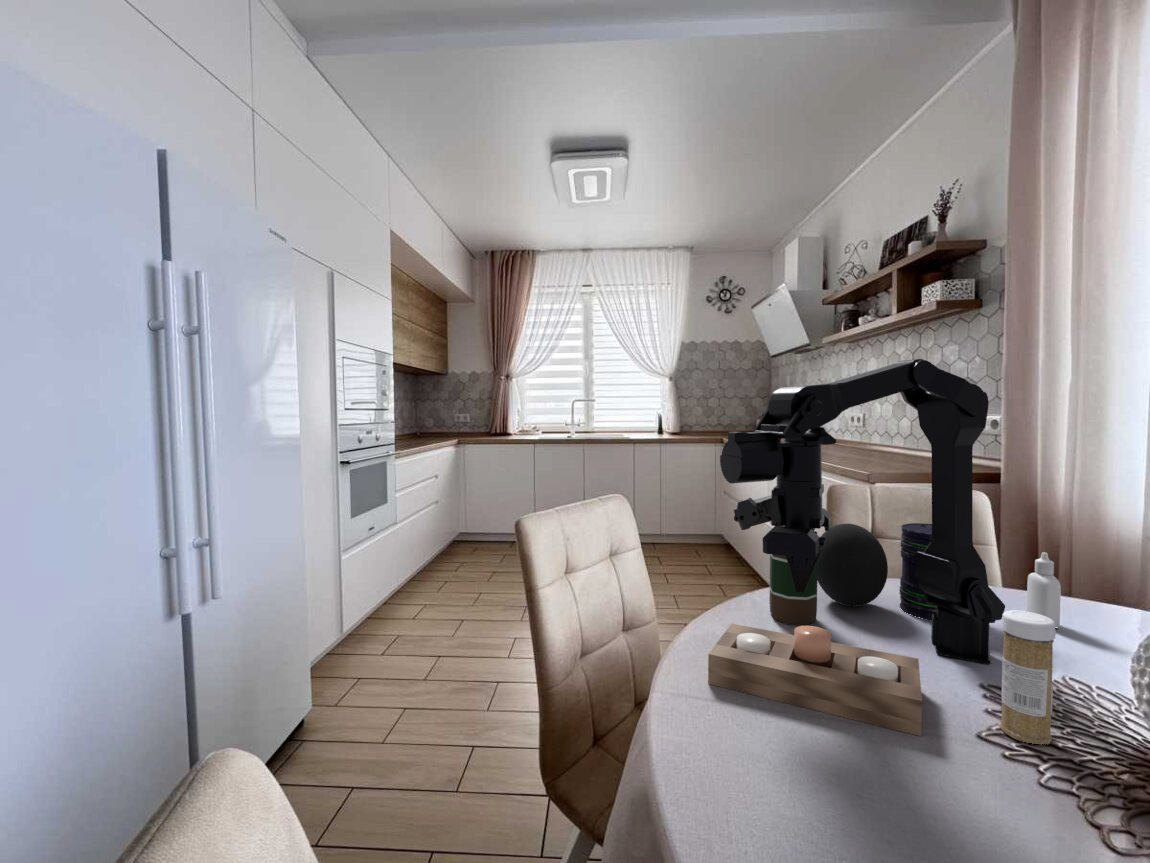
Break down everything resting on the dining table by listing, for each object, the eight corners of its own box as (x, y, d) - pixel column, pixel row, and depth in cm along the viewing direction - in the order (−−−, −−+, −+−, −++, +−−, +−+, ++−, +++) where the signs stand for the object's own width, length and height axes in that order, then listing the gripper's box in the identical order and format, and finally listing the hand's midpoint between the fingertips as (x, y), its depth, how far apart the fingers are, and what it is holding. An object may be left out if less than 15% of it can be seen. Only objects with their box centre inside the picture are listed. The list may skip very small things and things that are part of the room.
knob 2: (897, 684, 70) (897, 661, 70) (897, 700, 66) (898, 675, 66) (858, 676, 72) (858, 653, 72) (856, 691, 68) (856, 667, 68)
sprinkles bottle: (1058, 738, 62) (1062, 618, 61) (1042, 752, 59) (1046, 627, 58) (1008, 719, 65) (1011, 605, 65) (991, 731, 63) (995, 613, 62)
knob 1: (772, 658, 78) (773, 637, 77) (766, 671, 74) (766, 648, 74) (740, 651, 80) (741, 630, 80) (733, 663, 76) (733, 642, 76)
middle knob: (832, 651, 74) (832, 629, 74) (828, 665, 70) (829, 641, 70) (796, 645, 76) (797, 623, 76) (791, 657, 72) (792, 634, 72)
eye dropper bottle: (1059, 621, 95) (1062, 551, 94) (1059, 631, 91) (1062, 558, 90) (1026, 615, 98) (1028, 547, 97) (1025, 625, 93) (1027, 554, 93)
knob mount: (917, 688, 72) (918, 658, 72) (921, 736, 62) (922, 701, 62) (731, 649, 84) (731, 623, 84) (708, 683, 74) (708, 654, 74)
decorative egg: (875, 622, 95) (877, 534, 94) (802, 605, 103) (803, 524, 102) (894, 603, 104) (896, 523, 103) (825, 589, 112) (827, 515, 111)
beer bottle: (812, 630, 92) (815, 484, 91) (764, 620, 96) (765, 481, 95) (820, 615, 98) (822, 479, 97) (774, 606, 102) (775, 476, 101)
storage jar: (978, 622, 94) (981, 535, 94) (920, 622, 95) (922, 535, 94) (940, 602, 104) (942, 523, 104) (888, 602, 104) (889, 523, 104)
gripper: (753, 468, 88) (755, 566, 89) (720, 486, 72) (723, 605, 73) (831, 471, 82) (832, 575, 83) (814, 490, 66) (816, 619, 67)
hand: (800, 591), depth 77 cm, fingers closed
